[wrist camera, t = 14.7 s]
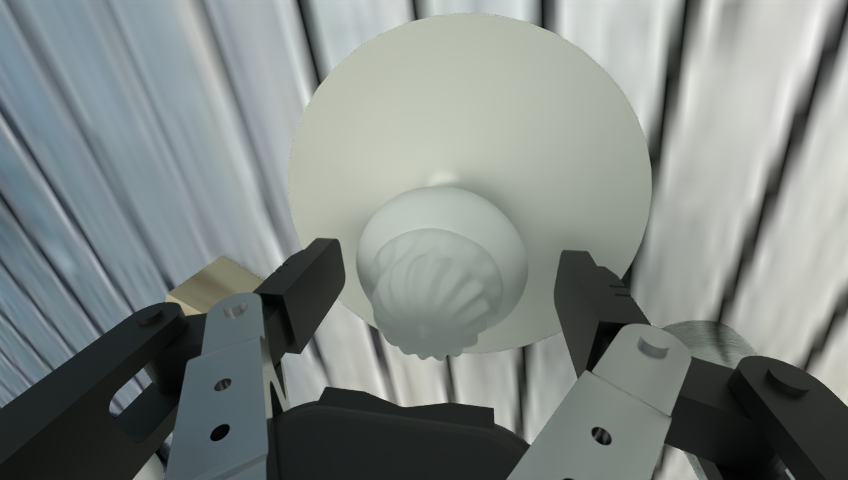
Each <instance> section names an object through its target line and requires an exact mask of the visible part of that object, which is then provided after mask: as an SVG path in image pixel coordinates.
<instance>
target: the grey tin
mask: <svg viewBox="0 0 848 480" xmlns="http://www.w3.org/2000/svg"><path fill="white" fill-rule="evenodd" d="M662 330H664V331H666V332H668V333H670V334H672V335H673V336H675V337H676V338H678V339H679V340H680V341H681V342H683V343H684V345H685V346H686V347H687V348H688V350H689V351H690V354H691V356H693V357H695V358H698V359H702V360H705V361H708V362H712V363H715V364H719V365H722V366H726V367H729V368H732V369H735V368H736V366H737V365H738V363H739V361H740V360H741V359H742V358H744V357H747V356H759V355H758V354H757V353H756V352H755V351H754V350H753V349H752V348H751V347H750V346H749V345H748V344H747V343H746V342H745V341H744V340H743V339H742V338H741V337H740V336H739V335H738V334H737V333H736V332H735V331H734V330H733V329H731V328H729V327H728V326H725V325H723V324H720V323H716V322H711V321H702V320H697V321H685V322H680V323H676V324H672V325H669V326H667V327H664V328H662ZM684 453H685V454H686V456H687V458H688V460H689V462H690V464H691V466H692V467H693V469H694V471H695V473H696V475H697V477H698V479H699V480H708V479H707V477H706V475H705V473H704V471H703V469H702V467H701V465H700V463H699V461H698V459H697V457H696V456H695V455H693V454H690V453H688V452H685V451H684ZM785 471H786V473H787V474H788V476H789V477H790V478H791V480H795V478H794V477H793V476H792V474H791V473H790V471H789V470H788V469H786V470H785Z"/></svg>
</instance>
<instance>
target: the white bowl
mask: <svg viewBox="0 0 848 480" xmlns="http://www.w3.org/2000/svg"><path fill="white" fill-rule="evenodd" d="M432 186H444V187H454V188H459V189H463V190H466V191H469V192H472V193H474V194H476V195H478V196H480V197H482V198H484V199H486V200H487V201H489V202H490V203H492V204H493V205H494V206H495V207H497V208H498V209H499V210H500V211H501V212H502V213H503V214H504V215H505V216H506V217H507V218H508V220H509V221H510V222H511V223H512V225H513V226H514V228H515V229H516V231H517V233H518V235H519V236H520V239H521V241H522V243H523V245H524V248H525V251H526V254H527V258H528V278H527V283H526V287H525V290H524V292H523V294H522V297H521V299H520V300H519V302H518V304H517V305H516V307H515V308H514V310H513V311H512V312H511V313H510V314H509V315H508V316H507V317H506V318H505V319H504V320H503V321H502V322H500V323H499V324H497V325H496V326H494V327H492V328H490V329H488V330H486V331H484V332H482V333H480V334H478V342H477V344H476V345H475V346H472V347H469V348H463V351H462V353H488V352H498V351H504V350H509V349H514V348H519V347H522V346H526V345H529V344H532V343H535V342H538V341H541V340H543V339H545V338H548V337H550V336H552V335H555V334H557V333H559V332H560V331H562V327H561V324H560V321H559V318H558V315H557V311H556V308H555V305H554V286H555V281H556V276H557V270H558V265H559V260H560V255H561V252H562V251H563V250H580V251H588V252H589V253H590V255H591V257H592V258H593V260H594V262H595V263H596V265H597V266H605V267H606V268H608V269H609V270H610V271H612V272H613V273H615V274H616V275H617V276H618V277H619V278H620V280H621V279H622V277H623V275H624V274H625V272H626V271H627V269H628V268H629V266H630V265H631V263H632V261H633V259H634V257H635V255H636V253H637V250H638V248H639V246H640V244H641V242H642V239H643V235H644V232H645V228H646V225H647V222H648V218H649V211H650V204H651V196H652V180H651V165H650V159H649V154H648V148H647V143H646V140H645V137H644V135H643V132H642V129H641V126H640V124H639V121H638V118H637V116H636V114H635V112H634V111H633V109H632V107H631V105H630V104H629V102H628V100H627V98H626V97H625V95H624V93H623V92H622V90H621V89H620V88H619V87H618V85H617V84H616V83H615V82H614V81H613V79H612V78H611V77H610V76H609V74H608V73H607V72H606V71H605V70H604V69H603V68H602V67H601V66H600V65H599V64H598V63H596V62H595V61H594V60H593V59H592V58H591V57H589V56H588V55H587V54H586V53H585V52H584V51H583V50H581V49H580V48H578V47H576V46H575V45H573V44H572V43H570V42H568V41H567V40H565V39H563V38H562V37H560V36H559V35H557V34H555V33H553V32H550V31H548V30H545V29H543V28H540V27H538V26H536V25H533V24H531V23H528V22H525V21H521V20H516V19H512V18H507V17H503V16H499V15H490V14H474V13H459V14H449V15H438V16H432V17H428V18H424V19H420V20H416V21H413V22H409V23H405V24H403V25H400V26H398V27H396V28H394V29H391V30H389V31H387V32H384V33H382V34H380V35H378V36H376V37H375V38H373V39H372V40H370V41H368V42H367V43H365V44H364V45H362V46H361V47H359V48H357V49H356V50H354V51H353V52H352V53H351V54H350V55H349V56H348V57H346V58H345V59H344V60H343V61H342V62H341V63H340V64H338V65H337V66H336V67H335V68H334V69H333V71H332V72H331V73H330V74H329V75H328V76H327V78H326V79H325V80H324V81H323V82H322V84H321V85H320V86H319V87H318V89H317V90H316V92H315V94H314V95H313V97H312V99H311V100H310V102H309V103H308V105H307V107H306V108H305V111H304V113H303V115H302V118H301V120H300V122H299V125H298V127H297V129H296V133H295V137H294V140H293V144H292V148H291V152H290V160H289V168H288V196H289V203H290V210H291V216H292V219H293V223H294V227H295V231H296V234H297V236H298V239H299V241H300V244H301V246H302V249H303V250H304V249H305V248H306V247H307V246H309V245H310V244H311V243H312V242H313V241H314V240H315V239H316V238H335V239H338V240H339V242H340V246H341V251H342V257H343V262H344V268H345V274H346V279H345V285H344V288H343V290H342V291H341V293H340V294H339V296H338V298H337V299H338V300H339V301H340V302H341V303H343V304H344V305H345V306H346V307H347V308H348V309H349V310H350V311H352V312H353V313H354V314H356V315H357V316H358V317H360V318H361V319H362V320H364V321H365V322H367V323H369V324H370V325H372V326H373V327H375V328H377V329H378V327H377V326H376V324H375V322H374V318H373V311H374V310H373V308H372V304H371V303H370V302H369V300H368V298H367V297H366V295H365V293H364V291H363V289H362V287H361V284H360V281H359V278H358V274H357V267H356V254H357V248H358V244H359V241H360V238H361V236H362V233H363V231H364V229H365V227H366V225H367V224H368V222H369V221H370V219H371V218H372V216H373V215H374V214H375V213H376V212H377V211H378V210H379V209H380V208H381V207H382V206H383V205H384V204H385V203H387V202H388V201H389V200H391V199H392V198H394V197H396V196H397V195H399V194H402V193H404V192H406V191H409V190H413V189H417V188H423V187H432ZM378 330H379V329H378Z"/></svg>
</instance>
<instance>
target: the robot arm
mask: <svg viewBox="0 0 848 480" xmlns="http://www.w3.org/2000/svg"><path fill="white" fill-rule="evenodd" d="M345 279H346V274H345V268H344V262H343V257H342V251H341V246H340V242H339V240H338V239H335V238H316V239H315V240H314V241H313V242H312V243H311V244H310V245H309V246H307V247H306V248H305V249H304V250H301V251H299V252H298V253H296V254H294V255H292V256H290V257H289V258H288V259H287V260H286V261H285V262H284V263H283V264H282V266H280V267H279V268H278V269H277V270H275V272H273V273H272V274H271V275H270V276H269V277H268V278H267V279H266V280H265V281H264V282H263V283H262V284H260V285H259V286H258V287H257V288H256V289H255V290H254V291H253V292H252V293H249V292H247V293H239V294H235V295H231V296H229V297H226V298H224V299H222V300H220V301H219V302H217V303H216V304H215V305H213V306H212V307H211V308H210V310H209V311H208V313H202V314H195V315H188V316H185V314H184V312H183V310H182V308H181V306H180V304H178V303H175V302H163V303H158V304H154V305H151V306H148V307H146V308H143V309H141V310H139V311H137V312H135V313H134V314H132V315H131V316H129V317H128V318H126V319H125V320H123V321H122V322H121V323H119V324H118V325H116V326H115V327H114V328H112V329H111V330H110V331H108V332H107V333H105V334H104V335H103V336H101V337H100V338H98V339H97V340H96V341H94V342H93V343H92V344H90V345H89V346H87V347H86V348H85V349H83V350H82V351H80V352H79V353H78V354H76V355H75V356H73V357H72V358H71V359H69V360H68V361H67V362H65V363H64V364H62V365H61V366H60V367H58V368H57V369H55V370H54V371H53V372H51V373H50V374H48V375H47V376H46V377H44V378H43V379H42V380H40V381H39V382H37V383H36V384H35V385H33V386H32V387H30V388H29V389H28V390H26V391H25V392H23V393H22V394H21V395H19V396H18V397H17V398H15V399H14V400H12V401H11V402H10V403H8V404H7V405H5V406H4V407H3V408H1V409H0V480H133V479H134V477H135V476H136V475H137V474H138V472H139V471H140V470H141V469H142V468H143V466H144V465H145V464H146V463H147V461H148V460H149V459H150V458H151V457H152V455H153V454H154V453H155V452H156V450H157V449H158V448H159V447H160V446H161V444H162V443H163V442H164V441H165V439H166V438H167V437H168V436H169V434H170V433H171V432H172V431H173V430H174V433H173V438H172V443H171V448H170V453H169V459H168V464H167V469H166V474H165V479H164V480H650V478H651V475H652V472H653V470H654V467H655V464H656V461H657V459H658V456H659V453H660V451H661V448H662V445H663V443H666V444H668V445H671V446H673V447H675V448H678V449H680V450H683V451H685V452H688V453H690V454H693V455H695V456H696V457H697V459H698V461H699V463H700V465H701V467H702V469H703V471H704V473H705V475H706V477H707V479H708V480H791V478H790V477H789V476H788V474H787V473H786V471H785V470H786V469H788V470H789V471H790V473H791V474H792V476H793V477H794V478H795V480H848V407H847V406H846V405H845V404H844V403H843V402H842V401H841V400H840V399H839V398H838V397H837V396H836V395H835V394H834V393H833V392H832V391H831V390H830V389H829V388H827V387H826V386H825V385H824V384H823V383H822V382H820V381H819V380H817V379H816V378H815V377H813V376H811V375H810V374H808V373H806V372H805V371H803V370H801V369H799V368H797V367H795V366H793V365H790V364H788V363H785V362H783V361H780V360H777V359H773V358H769V357H764V356H747V357H744V358H742V359H741V360H740V361H739V363H738V365H737V366H736V368H735V369H732V368H729V367H726V366H722V365H719V364H715V363H712V362H708V361H705V360H702V359H698V358H695V357H693V356H691V354H690V351H689V350H688V348H687V347H686V346H685V345H684V343H683V342H681V341H680V340H679V339H678V338H676V337H675V336H673V335H672V334H670V333H668V332H666V331H664V330H662V329H660V328H657V327H654V326H651V324H650V323H649V321H648V320H647V318H646V317H645V315H644V314H643V312H642V311H641V309H640V308H639V306H638V305H637V303H636V302H635V301H634V299H633V298H632V297H631V295H630V293H629V292H628V290H627V289H626V288H625V286H624V284H623V283H622V281H621V280H620V278H619V277H618V276H617V275H616V274H615V273H613V272H612V271H610V270H609V269H608V268H606V267H605V266H597V265H596V263H595V262H594V260H593V258H592V257H591V255H590V253H589V252H588V251H580V250H563V251H562V252H561V255H560V260H559V265H558V270H557V276H556V281H555V286H554V305H555V308H556V311H557V315H558V318H559V321H560V324H561V327H562V330H563V334H564V337H565V340H566V343H567V346H568V349H569V353H570V356H571V359H572V362H573V365H574V368H575V372H576V375H577V378H578V380H577V382H576V383H575V384H574V386H573V387H572V389H571V390H570V391H569V393H568V394H567V396H566V397H565V398H564V400H563V401H562V403H561V404H560V405H559V407H558V408H557V410H556V411H555V412H554V414H553V415H552V417H551V418H550V419H549V421H548V422H547V424H546V425H545V426H544V428H543V429H542V431H541V432H540V433H539V435H538V436H537V438H536V439H535V440H534V442H533V443H532V445H529V444H528V443H527V442H526V441H525V440H524V439H522V438H521V437H519V436H518V435H516V434H515V433H513V432H512V431H510V430H508V429H506V428H504V427H502V426H500V425H497V424H495V423H494V408H488V407H480V406H472V405H465V404H457V403H441V404H433V405H424V406H415V407H401V406H398V405H395V404H393V403H391V402H388V401H386V400H383V399H381V398H379V397H376V396H374V395H371V394H369V393H367V392H364V391H356V390H348V389H340V388H333V387H325V389H324V391H323V393H322V395H321V397H320V399H319V400H318V401H313V402H308V403H305V404H302V405H299V406H296V407H293V408H291V409H290V404H289V397H288V391H287V385H286V378H285V372H284V365H283V362H282V359H281V358H282V357H283V355H284V354H285V352H286V353H295V354H301V352H302V351H303V349H304V348H305V346H306V345H307V343H308V342H309V340H310V339H311V337H312V336H313V334H314V333H315V331H316V330H317V328H318V326H319V325H320V323H321V322H322V320H323V319H324V317H325V316H326V314H327V313H328V311H329V310H330V308H331V307H332V305H333V304H334V302H335V301H336V299H337V298H338V296H339V294H340V293H341V291H342V290H343V288H344V285H345ZM142 368H144V369H145V371H146V373H147V374H148V376H149V377H150V379H151V380H152V383H151V384H150V385H149V386H148V387H147V388H146V389H145V390H144V391H143V392H142V393H141V394H140V395H139V396H138V397H137V398H136V399H135V400H134V401H133V402H132V403H131V404H130V405H129V406H128V407H127V408H126V409H125V410H124V411H123V412H122V413H121V414H120V415H119V416H118V417H117V418H116V419H114V418H113V417H112V415H111V414H110V411H109V405H110V402H111V400H112V398H113V396H114V395H115V393H116V392H117V391H118V390H119V389H120V388H121V387H122V386H123V385H124V384H126V383H127V382H128V381H129V380H130V379H131V378H132V377H133V376H134V375H135V374H137V373H138V372H139V371H140V370H141V369H142Z"/></svg>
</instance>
